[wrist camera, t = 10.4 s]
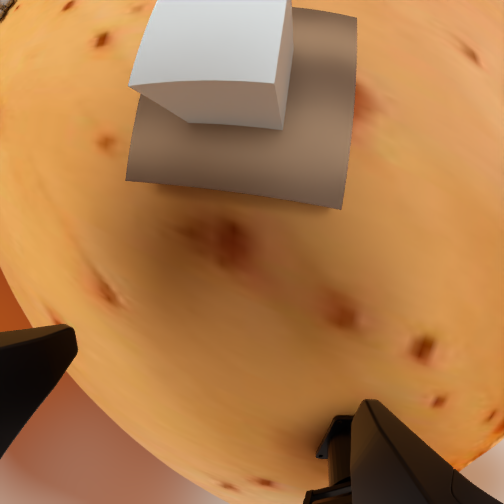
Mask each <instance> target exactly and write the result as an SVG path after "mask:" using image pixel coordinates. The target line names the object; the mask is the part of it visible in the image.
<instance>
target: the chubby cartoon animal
mask: <svg viewBox="0 0 504 504" xmlns="http://www.w3.org/2000/svg"><path fill="white" fill-rule="evenodd" d="M13 1H14V0H0V19H1V18H2V17H3V15H4V14H5V11H3V10H5V9H6V8H8V7H10V5H11V4H12V3H13Z"/></svg>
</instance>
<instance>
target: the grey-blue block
mask: <svg viewBox="0 0 504 504" xmlns="http://www.w3.org/2000/svg"><path fill="white" fill-rule="evenodd" d="M292 57H293V23H292V3H291V0H157V2H156V4H155V7H154V9H153V12H152V14H151V17H150V19H149V22H148V24H147V27H146V30H145V32H144V35H143V38H142V41H141V44H140V47H139V50H138V53H137V56H136V59H135V62H134V66H133V69H132V73H131V76H130V80H129V84H128V86H129V87H130V88H132V89H134V90H136V91H137V92H139V93H141V94H142V95H144V96H146V97H148V98H149V99H151V100H153V101H154V102H156V103H158V104H159V105H161V106H162V107H164V108H166V109H167V110H169V111H171V112H172V113H174V114H175V115H177V116H178V117H180V118H182V119H183V120H185V121H186V122H188V123H205V124H224V125H238V126H249V127H259V128H268V129H276V130H283V125H284V117H285V110H286V103H287V95H288V88H289V80H290V73H291V65H292Z"/></svg>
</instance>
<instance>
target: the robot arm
mask: <svg viewBox="0 0 504 504" xmlns="http://www.w3.org/2000/svg"><path fill="white" fill-rule="evenodd" d="M77 352H78V346H77V341H76V335H75V331H74V329H73V328H72V327H70V326H68V325H66V324H59V325H52V326H45V327H38V328H30V329H23V330H15V331H7V332H0V459H1V457H2V456H3V454H4V453H5V452H6V450H7V448H8V447H9V446H10V445H11V443H12V442H13V440H14V439H15V438H16V436H17V435H18V434H19V432H20V431H21V429H22V428H23V427H24V425H25V424H26V423H27V421H28V420H29V419H30V418H31V416H32V415H33V413H34V412H35V411H36V409H38V407H39V406H40V404H41V403H42V402H43V401H44V400H45V398H46V397H47V396H48V395H49V394H50V392H51V391H52V390H53V389H54V387H55V386H56V385H57V383H58V382H59V380H60V379H61V377H62V376H63V374H64V373H65V371H66V370H67V368H68V367H69V365H70V364H71V362H72V361H73V359H74V358H75V357H76V355H77ZM316 458H319V459H328V473H329V487H326V488H322V489H318V490H310V491H307V492H306V496H305V499H304V501H303V504H503V503H501V502H500V501H498V500H497V499H495V498H493V497H492V496H490V495H488V494H487V493H486V492H484V491H483V490H481V489H480V488H478V487H477V486H475V485H474V484H473V483H472V482H470V481H469V480H468V479H466V478H465V477H464V476H463V475H462V474H460V473H459V472H458V471H457V470H456V469H453V467H452V466H451V465H450V464H449V463H448V462H446V461H445V460H444V459H443V458H442V457H441V456H440V455H438V454H437V453H436V452H435V451H434V450H433V449H432V448H430V447H429V446H428V445H427V444H426V443H425V442H424V441H423V440H421V439H420V438H419V437H418V436H417V435H416V434H415V433H414V432H412V431H411V430H410V429H409V428H408V427H407V426H406V425H405V424H404V423H403V422H401V421H400V420H399V419H398V418H397V417H396V416H395V415H394V414H393V413H392V412H390V411H389V410H388V409H387V408H386V407H385V406H384V405H383V404H382V403H381V402H380V401H378V400H375V399H365V400H363V401H362V403H361V404H360V406H359V408H358V410H357V412H356V414H355V416H354V417H349V416H338V417H335V418H334V419H333V421H332V423H331V425H330V427H329V429H328V431H327V433H326V435H325V437H324V439H323V441H322V443H321V445H320V446H319V448H318V450H317V452H316Z"/></svg>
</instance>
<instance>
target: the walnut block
mask: <svg viewBox="0 0 504 504" xmlns="http://www.w3.org/2000/svg"><path fill="white" fill-rule="evenodd" d="M292 23H293V57H292V65H291V73H290V80H289V88H288V95H287V103H286V110H285V117H284V125H283V130H276V129H268V128H259V127H249V126H238V125H224V124H205V123H188V122H186V121H185V120H183V119H182V118H180V117H178V116H177V115H175V114H174V113H172V112H171V111H169V110H167V109H166V108H164V107H162V106H161V105H159V104H158V103H156V102H154V101H153V100H151V99H149V98H148V97H146V96H144V95H142V94H141V95H140V99H139V103H138V108H137V113H136V117H135V122H134V128H133V133H132V139H131V145H130V151H129V157H128V164H127V172H126V180H125V181H133V182H146V183H158V184H168V185H179V186H188V187H197V188H206V189H214V190H222V191H230V192H237V193H244V194H251V195H258V196H265V197H271V198H278V199H284V200H290V201H296V202H302V203H307V204H313V205H318V206H324V207H329V208H334V209H339V210H341V209H342V203H343V196H344V190H345V183H346V176H347V169H348V161H349V153H350V145H351V135H352V125H353V114H354V102H355V86H356V64H357V18H355V17H351V16H346V15H341V14H336V13H331V12H325V11H319V10H312V9H304V8H295V7H292Z"/></svg>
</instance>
